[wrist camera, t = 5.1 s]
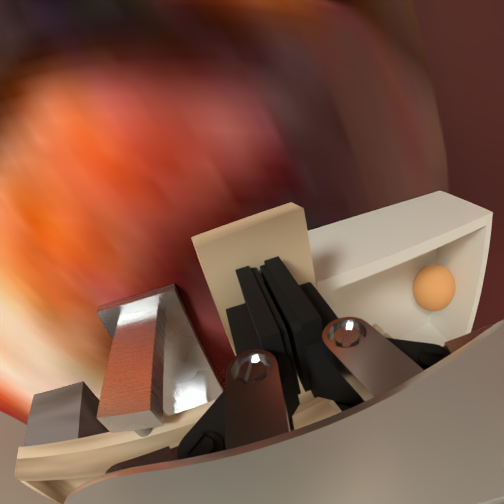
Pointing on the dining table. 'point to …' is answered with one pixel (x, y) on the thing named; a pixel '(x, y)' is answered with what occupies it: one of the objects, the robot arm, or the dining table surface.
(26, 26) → the dining table surface
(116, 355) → the lever stand
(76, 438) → the lever
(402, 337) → the bin
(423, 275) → the ball
